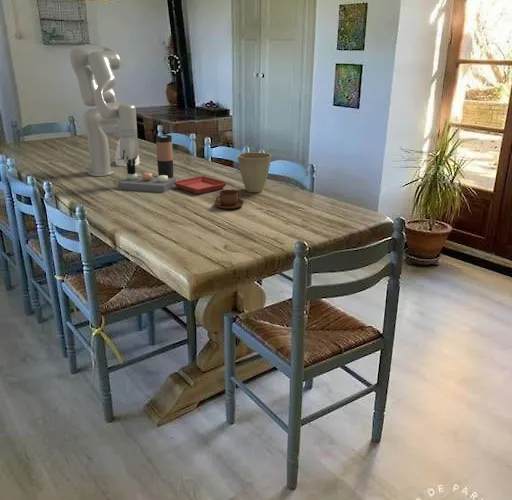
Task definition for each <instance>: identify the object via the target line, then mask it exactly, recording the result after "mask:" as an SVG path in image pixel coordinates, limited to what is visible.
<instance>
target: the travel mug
mask: <svg viewBox="0 0 512 500" xmlns="http://www.w3.org/2000/svg"><path fill="white" fill-rule="evenodd" d="M172 139H173V137H172V135H170V134H163V135H161V136H159V135H156V136H155V146H156V147H155V148H156V163H157V171H158V172H157V173H158V175H157V176H160V175H166V176H168V178H174V154H173V140H172Z"/></svg>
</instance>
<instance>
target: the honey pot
mask: <svg viewBox="0 0 512 500" xmlns="http://www.w3.org/2000/svg"><path fill="white" fill-rule="evenodd" d="M119 132H120V129H119ZM115 144H116V145H117V146H116V148H115V149H116V150H115V153H114V159H115V160H114V161H115V162H114V163H115V165H116V166H119V167H127V165H126V163H124V159H121V158H120V138H119V139H118V141H116V142H115ZM140 163H141V162H140V154H139V155H138V156H137V159H136V160H135V166H138V165H140Z"/></svg>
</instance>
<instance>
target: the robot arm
mask: <svg viewBox="0 0 512 500" xmlns="http://www.w3.org/2000/svg"><path fill="white" fill-rule="evenodd" d="M69 61H70V64H71V68H72V70H73V72H74V73H75V75H76V78H77V79H76V80H77V83H78V89H79V92H80V96H81V99H82V102H83V104H84V105H85V106H87V107H96V108H91V109H88V110H86V111H84V113H83V115H82V116H83V117H82V118H83V123H84V126H85V129H86V136H87V144H88V152H89V161H90V164H87V163H86V164H84V166H83V167H84V169H85V170H88V173H87V174H88V175H90V176H91V177H104V176H111V175H113V174H115V170H114V169H113V168H112V167H111V158H110V157H111V156H110V147H109V138H108V135H107V134H106V133H105V132H104V129H110V128H111V129H112V128H116V127H118V126H119V130H120V131H119V136H120V138H119V139H120V158H121V159H124V163H126V165H127V166H126V167H127V169H126V170H127V174H135V173H136V171H137V170H136V165H135V160H136V159H137V156H138V155H139V156H140V154H139V152H140V151H139V150H140V149H139V140H138V125H137V109H136V106H135V105H134V104H132V103H128V102H127V101H126V102H125V101H119V102H118V101H117V97H116V93H115V91H114V89H113V87H115V85H116V84H117V79H116V77H115V73H114V71H118V70H119V69H120V68H121V65H122V59H121V57H120V55H119V53H117V51H115V50H114V49H111V48H109V47H107V46H103V45H77V46H74V47H73V48H71V50H70V53H69ZM88 66H89V67H88ZM136 174H137V173H136Z"/></svg>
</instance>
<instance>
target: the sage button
mask: <svg viewBox="0 0 512 500" xmlns="http://www.w3.org/2000/svg"><path fill="white" fill-rule="evenodd" d="M137 176H138V173H135V174H128V173H127V174H126V178H127V180H137V179H138V177H137Z"/></svg>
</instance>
